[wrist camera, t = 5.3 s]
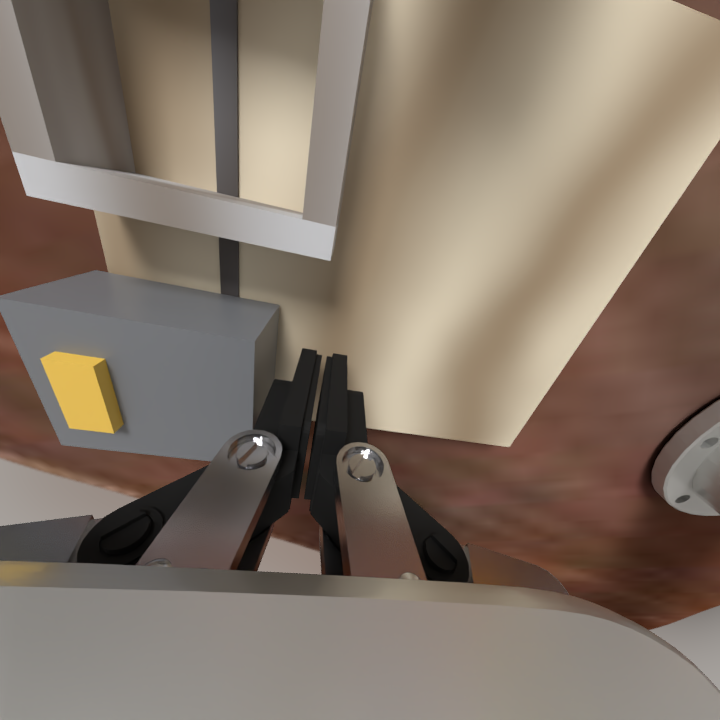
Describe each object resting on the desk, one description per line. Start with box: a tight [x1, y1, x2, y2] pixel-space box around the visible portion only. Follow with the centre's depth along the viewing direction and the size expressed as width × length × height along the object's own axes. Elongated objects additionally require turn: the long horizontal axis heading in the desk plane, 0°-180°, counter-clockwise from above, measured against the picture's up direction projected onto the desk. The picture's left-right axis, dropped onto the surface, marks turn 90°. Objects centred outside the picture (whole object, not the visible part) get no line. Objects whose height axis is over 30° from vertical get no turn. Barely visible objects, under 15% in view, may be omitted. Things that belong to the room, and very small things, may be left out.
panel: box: [0, 0, 720, 447], centre depth 9 cm, size 18×15×4 cm
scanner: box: [0, 270, 280, 461], centre depth 9 cm, size 6×5×3 cm
